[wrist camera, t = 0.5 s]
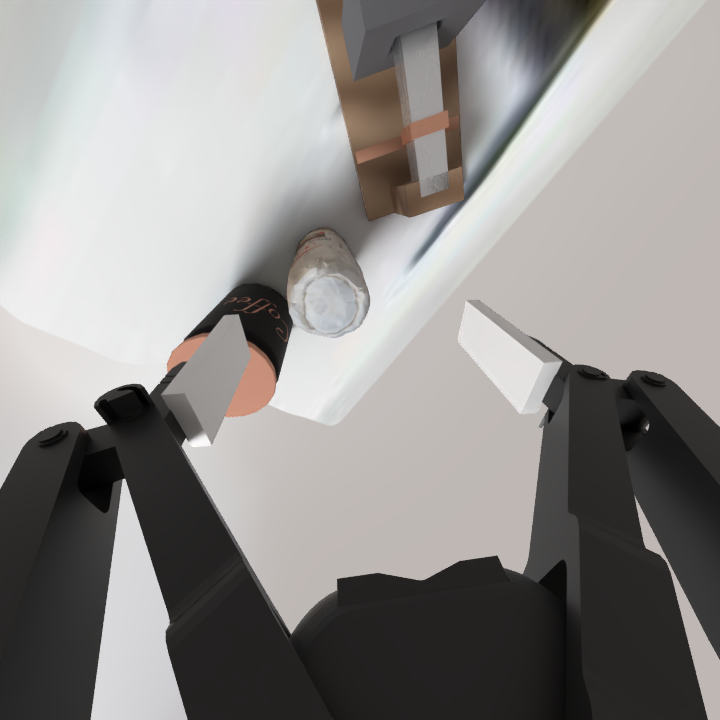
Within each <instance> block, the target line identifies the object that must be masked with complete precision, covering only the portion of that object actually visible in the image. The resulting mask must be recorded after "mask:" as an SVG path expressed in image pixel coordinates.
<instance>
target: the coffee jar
mask: <svg viewBox="0 0 720 720" xmlns="http://www.w3.org/2000/svg"><path fill="white" fill-rule="evenodd" d="M238 314H239V318H240V321H241V324H242V328H243V331H244V334H245V338H246V341H247V344H248V348H249V351H250V354H251V358H250V360H249V362H248V364H247V367H246V369H245V371H244V374H243V376H242V378H241V380H240V383H239V385H238V387H237V389H236V392H235V394H234V396H233V398H232V401H231V403H230V405H229V407H228V410H227V412H226V414H225V416H226V417H236V416H245V415H248V414H251V413H254V412H257V411H259V410H260V409H261V408H263V407H264V406H266V405H267V404H268V403H269V401H270V400H271V398H272V397H273V395H274V393H275V388H276V383H277V381H278V378H279V375H280V371H281V367H282V363H283V359H284V356H285V352H286V348H287V344H288V340H289V337H290V333H291V329H292V324H293V320H292V318H291V315H290V314H289V307H288V302H287V301H286V300H285V299H284V298H283V297H282V296H281V295H280V294H279V293H278V292H276V291H275V290H273V289H271V288H270V287H267V286H263V285H260V284H245V285H242V286H239V287H236V288H235V289H233V290H232V291H231V292H230V293H229V294H228V295H227V296H226V297H225V298H224V299H223V300H222V301H221V302H220V303H219V304H218V305H217V306H216V307H215V308H214V309H213V310H212V311H211V312H210V313H209V314H208V315H207V316H206V317H205V318H204V319H203V320H202V321H201V322H200V323H199V324H198V325H197V326H196V327H195V328H194V329H193V330H192V331H191V333H190V334H189V335H188V336H187V337H186V338H185V339H184V341H183V343H181V344H180V345H179V346H178V347H177V348H176V349H174V350H173V351H172V353H171V356H170V358H169V360H168V363H167V370H168V372H169V371H170V370H171V369H172V368H173V367H175V366H176V365H178V364H179V363H181V362H185V361H188V360H189V359H190V358H191V356H192V355H193V354H194V353H195V351H196V350H197V349H198V348H199V346H200V345H201V344H202V343H203V341H204V340H205V339H206V338H207V336H208V335H209V334H210V333H211V331H212V330H213V329H214V328H215V326H216V325H217V324H218V323H219V321H220V320H221V319H222V317H223V316H224V315H238Z"/></svg>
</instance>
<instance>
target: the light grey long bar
mask: <svg viewBox="0 0 720 720" xmlns="http://www.w3.org/2000/svg"><path fill="white" fill-rule="evenodd" d="M392 49H393V56H394V63H395V70H396V77H397V84H398V91H399V98H400V105H401V112H402V119H403V126H404V129H403V130H402V131H401V138H402V145H406V147H407V154H408V161H409V168H410V175H411V182H415V181H419V182H420V190H421V197H425V196H427V195H430V194H431V193H432V194H433V193H435V191H436V189H437V188H439V186H440V185H441V184H442V185H441V186H440V188H439V189H440V191H441V190H443V188H447V189H448V187H447V185H446V186H445V184H444V182H445V183H446V181H447V179H448V178H447V176H448V174H447V172H448V166H447V152H446V139H445V129H446V128H448V127H449V119H448V110H446V111H444V112H443V100H442V86H441V73H440V60H439V47H438V34H437V21H436V22H433V23H431V24H428V25H426V26H423V27H420V28H418V29H415V30H413V31H410V32H407V33H405V34H402V35H400V36H397V37H395V39H394V42H393V44H392ZM445 172H446V174H445ZM442 173H443V174H444V175H445V176H444V175H443V174H442ZM440 174H441V175H442V176H441V175H440ZM435 175H436V176H437V175H438V176H437V177H436V176H435ZM446 175H447V176H446ZM432 176H433V177H432ZM434 176H435V177H436V180H435V177H434ZM438 177H439V178H440V181H439V179H438ZM441 177H442V178H441ZM443 177H444V178H445V177H446V178H445V181H441V179H443V180H444V178H443ZM432 178H434V180H435V181H434V180H433V179H432ZM428 179H429V180H430V181H429V180H428ZM426 180H427V181H428V182H429V184H428V182H427V181H426ZM432 180H433V181H432ZM424 181H425V182H424ZM431 181H432V182H431ZM448 181H449V179H448ZM433 182H434V183H435V182H436V183H435V184H434V183H433ZM438 182H439V183H440V184H439V183H438ZM441 182H442V183H441ZM423 183H424V184H423ZM431 183H432V185H433V186H435V188H434V189H435V190H434V191H433V189H432V188H433V186H432V185H431ZM437 183H438V184H437ZM426 184H427V186H429V187H427V186H426ZM446 184H447V183H446ZM448 184H449V182H448ZM430 185H431V187H432V188H431V187H430ZM437 185H438V186H437ZM443 185H444V187H443ZM430 188H431V189H430ZM441 188H442V189H441ZM422 189H423V190H422ZM427 190H428V192H429V193H430V194H429V193H428V192H427ZM444 190H445V189H444ZM425 191H426V192H425ZM432 191H433V192H432ZM436 192H437V191H436ZM438 192H439V190H438ZM425 193H427V194H425ZM422 194H423V195H425V196H423V195H422Z"/></svg>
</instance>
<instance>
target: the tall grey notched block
mask: <svg viewBox="0 0 720 720" xmlns="http://www.w3.org/2000/svg"><path fill="white" fill-rule="evenodd" d="M485 1H486V0H343V9H342V21H341V25H342V30H343V34H344V39H345V44H346V49H347V53H348V58H349V63H350V68H351V73H352V77H353V82H354V81H357V80H359V79H362V78H365V77H367V76H370V75H373V74H375V73H378V72H381V71H383V70H386V69H389V68H391V67H394V66H395V63H394V56H393V49H392V44H393V42H394V39H395V37H397V36H400V35H402V34H405V33H407V32H410V31H413V30H415V29H418V28H420V27H423V26H426V25H428V24H431V23H433V22H436V21H437V34H438V47H439V49H442V48H445V47H447V46H449V44H450V43H451V42H452V41H453V39H454V38H455V37H456V36H457V35H458V33H459V32H460V31H461V30H462V29H463V27H464V26H465V25H466V24H467V22H468V21H469V20H470V19H471V18H472V16H473V15H474V14H475V13H476V12H477V10H478V9H479V8H480V7H481V6H482V4H483V3H484V2H485Z"/></svg>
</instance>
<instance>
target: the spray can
mask: <svg viewBox="0 0 720 720" xmlns="http://www.w3.org/2000/svg"><path fill="white" fill-rule="evenodd" d="M287 300H288V307H289V314H290V315H291V318H292V320H293V323H294V325H296V326H298V327H299V328H301V329H302V330H304V331H306V332H309V333H311V334H317V335H322V336H327V337H332V338H336V337H340V336H343V335H344V334H346V333H349V332H351V331H354V330H355V329H357V328H359V326H360V325H361V324H362V322H363V320H364V319H365V317H366V315H367V313H368V310H369V306H370V296H369V291H368V288H367V286H366V283H365V280H364V277H363V274H362V271H361V268H360V266H359V265H358V263H357V261H356V260H355V258H354V256H353V255H352V253H351V251H350V249H349V248H348V246H347V245H346V243H345V241H344V239H343V238H341V237H340V236H339V235H338V234H337V233H335V232H334V231H333V230H332V229H328V228H320V229H316V230H313V231H311V232H310V233H309V234H308V235H307V236H305V237H304V238H303V239H302V240H301V241H300V243H299V245H298V247H297V251H296V254H295V257H294V261H293V264H292V266H291V269H290V271H289V276H288V284H287Z"/></svg>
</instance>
